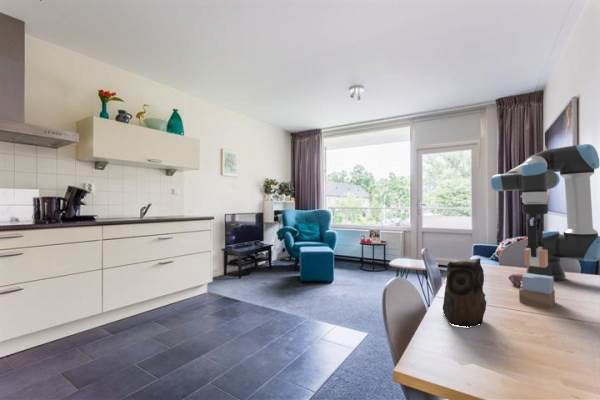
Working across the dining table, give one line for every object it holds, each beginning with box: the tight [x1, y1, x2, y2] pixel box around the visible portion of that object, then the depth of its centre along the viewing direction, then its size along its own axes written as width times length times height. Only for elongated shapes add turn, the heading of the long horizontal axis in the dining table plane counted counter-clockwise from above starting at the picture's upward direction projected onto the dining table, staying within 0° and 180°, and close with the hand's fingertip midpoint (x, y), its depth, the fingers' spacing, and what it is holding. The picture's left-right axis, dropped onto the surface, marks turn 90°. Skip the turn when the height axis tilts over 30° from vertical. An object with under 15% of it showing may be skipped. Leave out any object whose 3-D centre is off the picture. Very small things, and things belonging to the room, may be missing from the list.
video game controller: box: [508, 273, 524, 287], centre depth 128 cm, size 10×5×7 cm, turn 25°
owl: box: [442, 257, 487, 327], centre depth 90 cm, size 13×13×20 cm
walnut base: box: [518, 287, 556, 309], centre depth 107 cm, size 9×9×5 cm
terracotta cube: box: [523, 247, 548, 268], centre depth 108 cm, size 6×6×6 cm
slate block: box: [521, 272, 555, 294], centre depth 107 cm, size 8×8×5 cm
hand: (536, 264), depth 108 cm, fingers closed on terracotta cube, 6 cm apart
